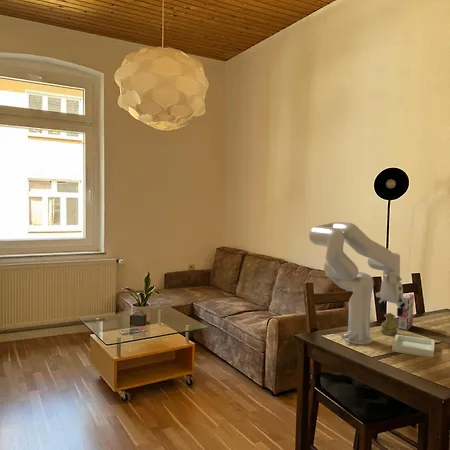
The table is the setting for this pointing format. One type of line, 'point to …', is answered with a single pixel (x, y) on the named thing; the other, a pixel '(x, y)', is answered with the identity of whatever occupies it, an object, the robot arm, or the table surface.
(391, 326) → the brass door knob
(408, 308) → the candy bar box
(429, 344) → the tray
